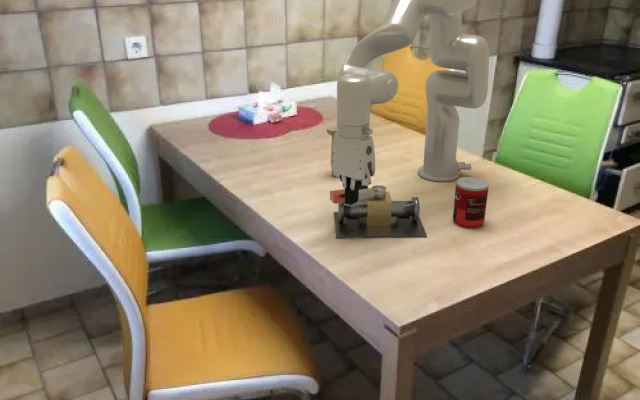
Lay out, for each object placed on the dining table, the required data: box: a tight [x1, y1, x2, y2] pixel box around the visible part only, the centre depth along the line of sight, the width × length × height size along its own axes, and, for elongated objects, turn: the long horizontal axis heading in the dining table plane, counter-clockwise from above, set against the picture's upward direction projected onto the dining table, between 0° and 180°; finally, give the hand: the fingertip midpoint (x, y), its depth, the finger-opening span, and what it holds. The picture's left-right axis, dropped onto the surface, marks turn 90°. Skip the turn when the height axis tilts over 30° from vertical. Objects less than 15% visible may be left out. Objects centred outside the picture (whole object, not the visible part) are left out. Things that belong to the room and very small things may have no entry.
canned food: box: [452, 176, 489, 229], centre depth 148 cm, size 8×8×11 cm
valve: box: [333, 191, 428, 239], centre depth 148 cm, size 22×14×7 cm, turn 91°
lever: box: [329, 184, 387, 205], centre depth 146 cm, size 14×4×2 cm, turn 109°
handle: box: [326, 125, 338, 178], centre depth 177 cm, size 5×6×15 cm
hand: (351, 202), depth 142 cm, fingers closed
